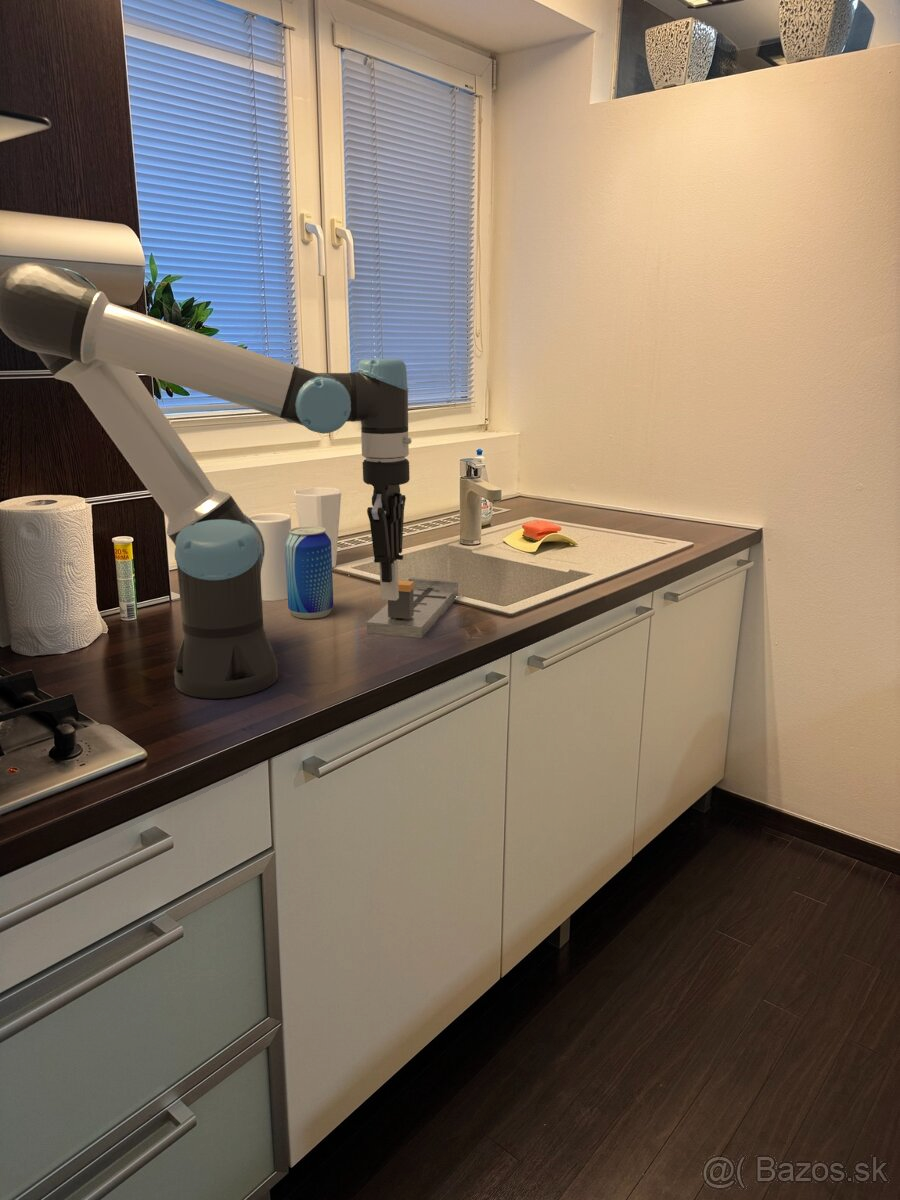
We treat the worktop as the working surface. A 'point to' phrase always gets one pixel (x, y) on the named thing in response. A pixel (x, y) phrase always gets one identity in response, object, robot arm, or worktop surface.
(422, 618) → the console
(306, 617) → the beer can
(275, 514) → the cup
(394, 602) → the fader
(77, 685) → the worktop surface
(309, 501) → the cup
